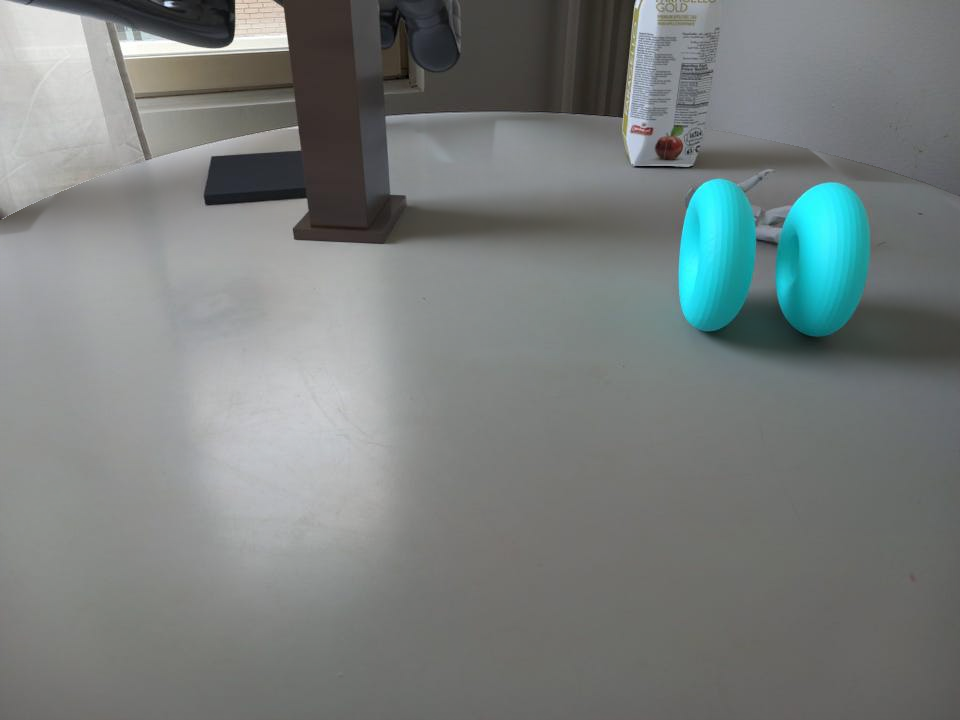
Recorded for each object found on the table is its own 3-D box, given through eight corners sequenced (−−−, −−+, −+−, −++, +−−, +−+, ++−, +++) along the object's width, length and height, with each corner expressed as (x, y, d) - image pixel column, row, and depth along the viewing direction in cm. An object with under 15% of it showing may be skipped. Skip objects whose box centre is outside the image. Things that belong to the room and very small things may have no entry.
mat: (213, 164, 84) (211, 156, 84) (302, 158, 86) (301, 150, 86) (205, 205, 72) (203, 195, 72) (309, 197, 75) (308, 187, 74)
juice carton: (702, 170, 83) (732, -21, 73) (624, 169, 83) (644, -22, 73) (688, 151, 89) (715, -26, 79) (616, 150, 89) (634, -27, 80)
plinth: (327, 201, 73) (285, -185, 57) (406, 205, 73) (386, -186, 57) (293, 239, 65) (233, -203, 49) (383, 243, 64) (352, -204, 48)
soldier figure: (805, 278, 60) (672, 213, 63) (788, 294, 65) (665, 233, 67) (849, 198, 61) (716, 137, 63) (828, 220, 66) (705, 162, 68)
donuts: (849, 366, 47) (895, 214, 42) (688, 357, 48) (713, 208, 43) (806, 296, 55) (840, 163, 50) (670, 290, 56) (689, 159, 51)
